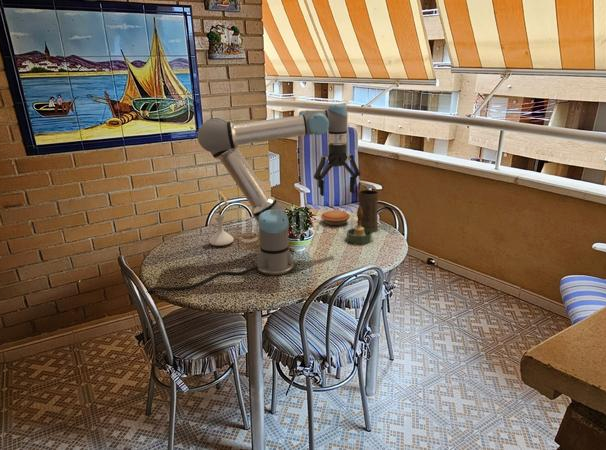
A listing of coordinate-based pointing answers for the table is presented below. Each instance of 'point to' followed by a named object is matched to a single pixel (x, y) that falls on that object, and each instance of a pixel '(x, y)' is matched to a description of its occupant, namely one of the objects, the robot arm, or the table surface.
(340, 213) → the pie
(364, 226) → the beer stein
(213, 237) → the flower in vase
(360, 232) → the hand bell
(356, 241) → the holder
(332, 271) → the table surface
